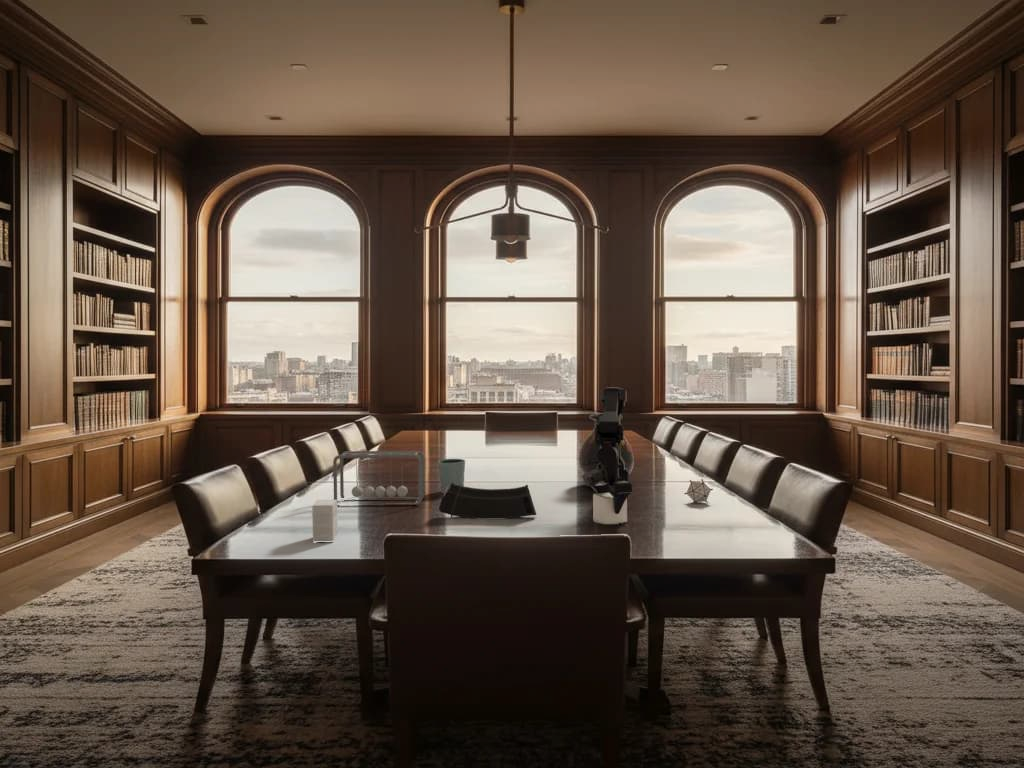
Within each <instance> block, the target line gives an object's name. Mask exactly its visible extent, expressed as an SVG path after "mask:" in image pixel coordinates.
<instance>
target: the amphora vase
mask: <svg viewBox="0 0 1024 768" xmlns="http://www.w3.org/2000/svg"><path fill="white" fill-rule="evenodd" d="M603 414H604V413H593V414H589V419H591V420H592V421H594V427H593V430H592V431H591V433H589V434H588V436H587V437H586V438H585V439H584V440H583V442H582V444H581V445H580V449H579V453H578V467H579V470H580V471H581V473H582V475H583V474H585V473H587V472H589V471H591V470H594V469H596V468H597V463H600V462H599V460H598V458H597V453H598V451H599V449H600V445H601V443H596V427H597V423H599V418H600V416H602V415H603ZM622 419H623V415H622V414H620V420H622ZM598 440H599V437H598ZM620 455H621V457H622V459H623V460H624V462H625V468H627V471H628V472H629V475H630V474H631V473H632V471H633V468H634V465H635V457H634V452H633V448H632V446H631V444H630V442H629V441H628V439H627V438H626V437H625V436H623V440H621V443H620ZM586 487H588V488H590V489H591V488H592V487H590V486H588V485H586ZM592 489H593V488H592Z"/></svg>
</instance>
